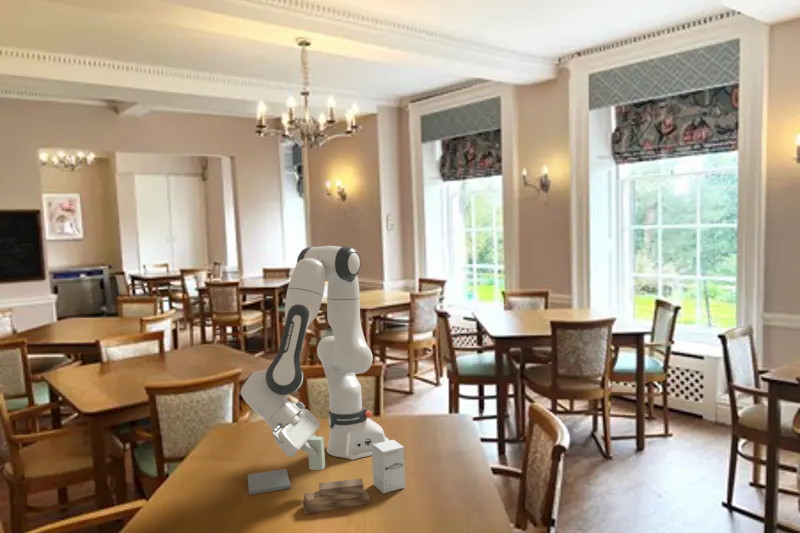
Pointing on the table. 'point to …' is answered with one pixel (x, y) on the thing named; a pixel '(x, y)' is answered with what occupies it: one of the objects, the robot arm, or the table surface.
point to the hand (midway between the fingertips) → (318, 452)
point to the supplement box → (388, 466)
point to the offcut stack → (335, 496)
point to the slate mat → (268, 481)
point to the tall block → (319, 459)
